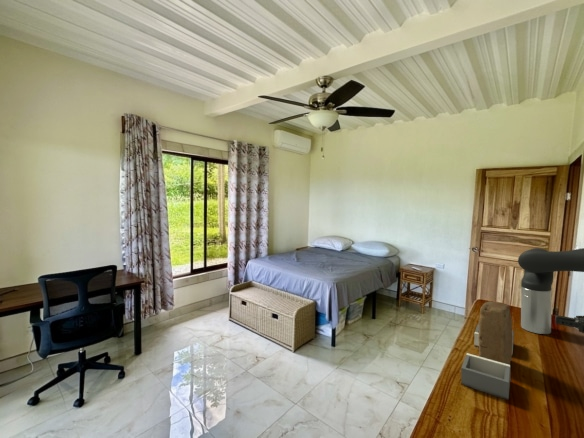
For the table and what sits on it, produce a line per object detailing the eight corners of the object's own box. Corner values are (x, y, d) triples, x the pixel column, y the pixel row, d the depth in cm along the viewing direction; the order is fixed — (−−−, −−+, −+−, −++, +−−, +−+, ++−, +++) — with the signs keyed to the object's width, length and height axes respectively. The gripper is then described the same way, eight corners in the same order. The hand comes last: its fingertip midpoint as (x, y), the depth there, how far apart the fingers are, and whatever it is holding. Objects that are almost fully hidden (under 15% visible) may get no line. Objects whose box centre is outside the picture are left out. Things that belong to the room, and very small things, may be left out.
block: (503, 374, 85) (503, 311, 84) (476, 363, 91) (476, 304, 90) (515, 361, 91) (515, 302, 90) (489, 352, 98) (489, 297, 96)
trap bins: (478, 335, 110) (478, 323, 109) (513, 343, 103) (513, 330, 102) (461, 384, 82) (461, 367, 81) (508, 400, 74) (508, 382, 74)
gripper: (659, 364, 64) (557, 340, 75) (640, 341, 74) (552, 323, 85) (662, 333, 64) (558, 314, 75) (642, 314, 74) (554, 300, 85)
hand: (555, 319), depth 80 cm, fingers closed
